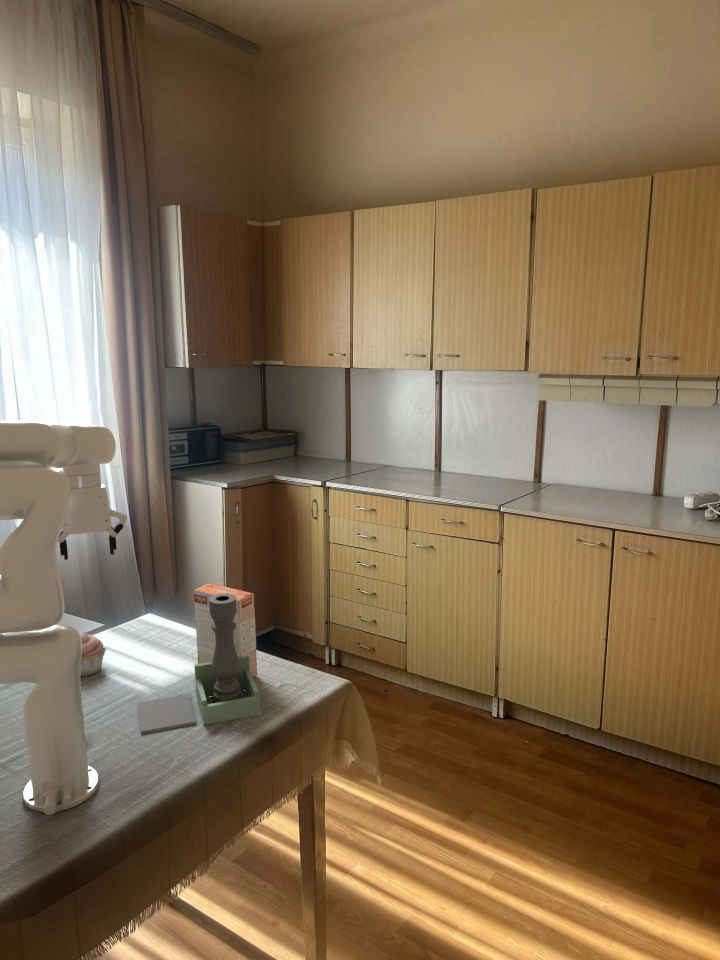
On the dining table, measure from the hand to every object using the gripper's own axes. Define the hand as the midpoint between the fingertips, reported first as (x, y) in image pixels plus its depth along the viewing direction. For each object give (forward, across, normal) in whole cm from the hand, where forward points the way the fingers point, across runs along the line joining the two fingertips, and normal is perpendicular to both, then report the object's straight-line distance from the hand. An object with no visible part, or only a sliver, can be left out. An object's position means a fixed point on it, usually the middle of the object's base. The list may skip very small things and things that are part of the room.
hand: (89, 555), depth 163 cm
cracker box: (+31, +28, -6) cm, 43 cm away
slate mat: (+31, +13, -20) cm, 39 cm away
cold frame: (+31, +26, -21) cm, 45 cm away
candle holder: (+31, +26, -21) cm, 46 cm away
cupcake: (+31, -3, +8) cm, 32 cm away
